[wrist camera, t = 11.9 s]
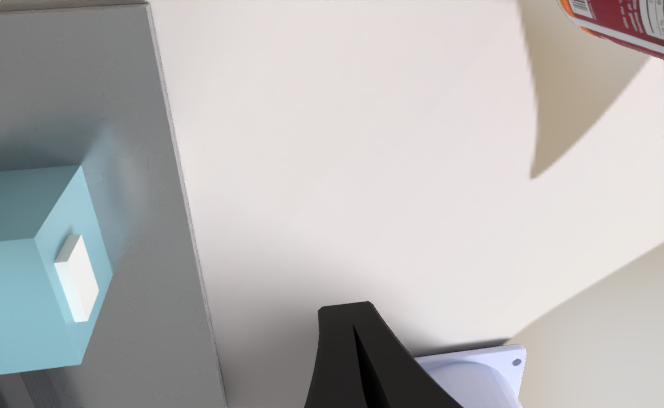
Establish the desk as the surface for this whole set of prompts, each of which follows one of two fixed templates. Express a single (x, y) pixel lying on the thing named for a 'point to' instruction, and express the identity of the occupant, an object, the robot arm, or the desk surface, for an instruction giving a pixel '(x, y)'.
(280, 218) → the desk surface
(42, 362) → the block
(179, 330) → the rail board
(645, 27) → the pill bottle
